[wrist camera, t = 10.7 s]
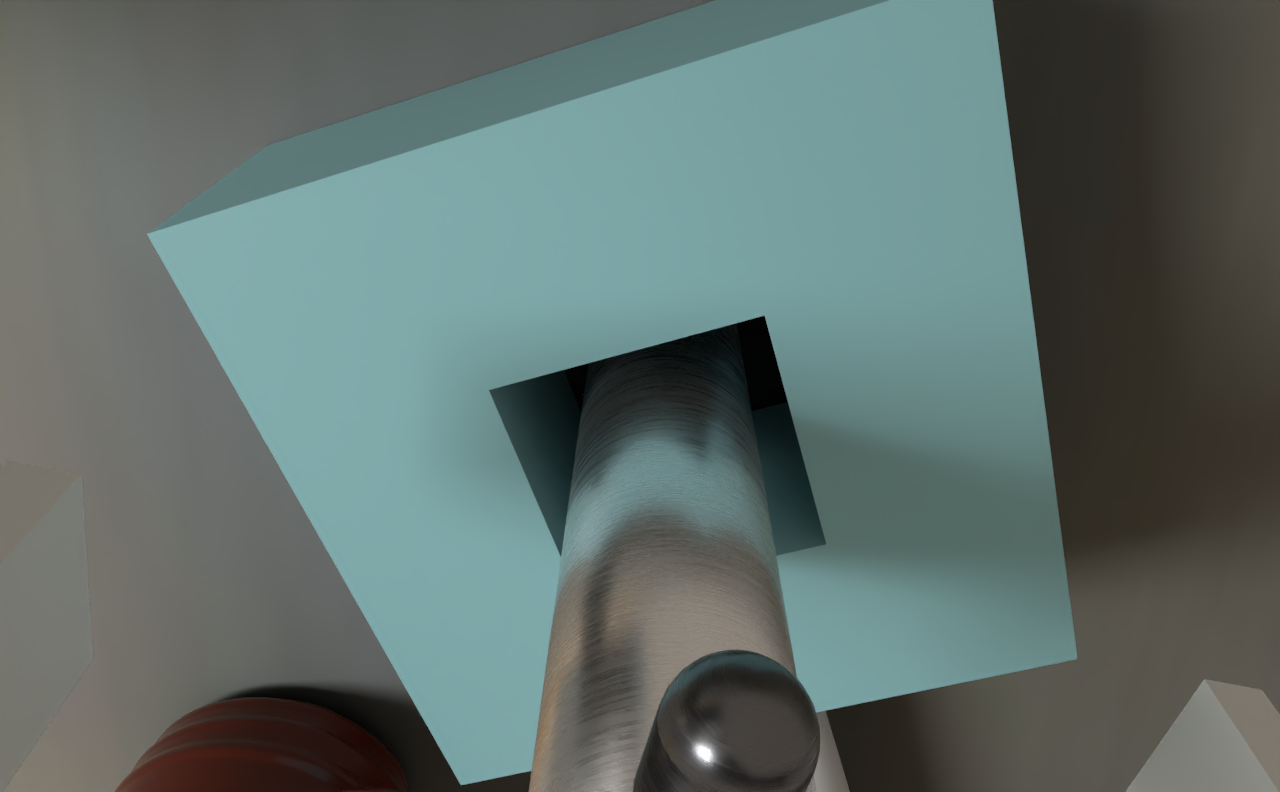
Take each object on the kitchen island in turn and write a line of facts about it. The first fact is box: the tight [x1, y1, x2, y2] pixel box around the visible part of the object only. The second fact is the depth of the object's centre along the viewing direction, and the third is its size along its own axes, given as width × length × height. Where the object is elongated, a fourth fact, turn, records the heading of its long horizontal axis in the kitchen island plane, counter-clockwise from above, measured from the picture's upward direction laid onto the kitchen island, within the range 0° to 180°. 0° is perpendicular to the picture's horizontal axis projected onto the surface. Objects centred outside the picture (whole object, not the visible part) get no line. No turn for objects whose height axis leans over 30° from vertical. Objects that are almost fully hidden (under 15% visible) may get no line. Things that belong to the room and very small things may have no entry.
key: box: [529, 323, 820, 792], centre depth 14 cm, size 6×3×14 cm, turn 167°
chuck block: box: [147, 0, 1077, 792], centre depth 20 cm, size 22×12×5 cm, turn 17°
